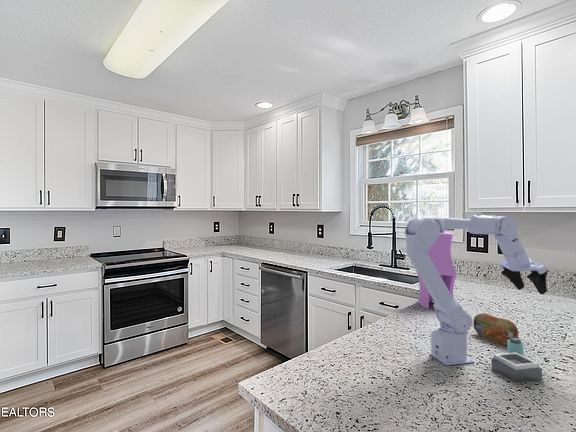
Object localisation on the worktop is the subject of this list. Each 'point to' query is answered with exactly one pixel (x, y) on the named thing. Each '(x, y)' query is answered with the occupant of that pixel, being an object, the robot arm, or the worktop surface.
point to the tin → (495, 328)
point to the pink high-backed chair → (439, 266)
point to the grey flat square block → (516, 367)
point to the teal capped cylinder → (515, 346)
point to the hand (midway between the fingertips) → (532, 290)
